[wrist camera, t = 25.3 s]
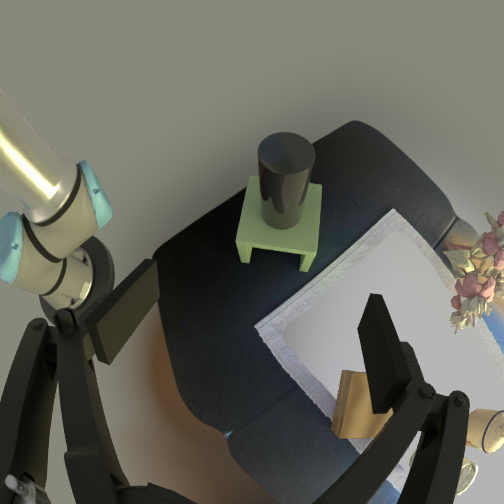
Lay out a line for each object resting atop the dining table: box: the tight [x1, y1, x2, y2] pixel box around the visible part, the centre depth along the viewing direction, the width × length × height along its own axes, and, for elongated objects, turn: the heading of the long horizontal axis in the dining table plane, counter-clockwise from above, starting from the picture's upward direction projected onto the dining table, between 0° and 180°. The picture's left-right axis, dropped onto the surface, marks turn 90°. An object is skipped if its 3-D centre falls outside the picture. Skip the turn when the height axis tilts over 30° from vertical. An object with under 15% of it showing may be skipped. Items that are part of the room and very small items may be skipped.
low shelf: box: [331, 370, 393, 438], centre depth 38 cm, size 11×11×6 cm
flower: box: [443, 211, 504, 334], centre depth 37 cm, size 20×22×25 cm
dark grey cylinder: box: [258, 132, 315, 230], centre depth 36 cm, size 6×6×14 cm
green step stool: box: [236, 175, 322, 272], centre depth 47 cm, size 12×12×10 cm
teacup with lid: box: [466, 409, 504, 453], centre depth 29 cm, size 12×9×12 cm
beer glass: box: [409, 451, 477, 496], centre depth 27 cm, size 7×7×15 cm
